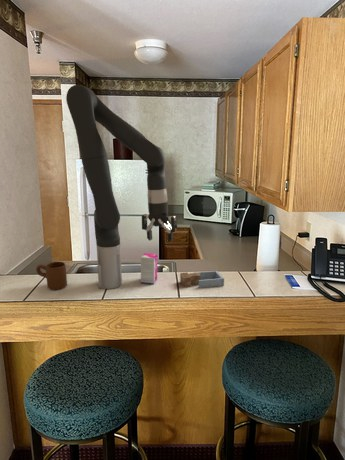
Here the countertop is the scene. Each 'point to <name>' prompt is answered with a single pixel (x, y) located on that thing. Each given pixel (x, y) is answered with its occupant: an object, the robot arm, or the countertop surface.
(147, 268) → the supplement box
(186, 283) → the tee
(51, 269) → the mug
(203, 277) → the pocket fence
